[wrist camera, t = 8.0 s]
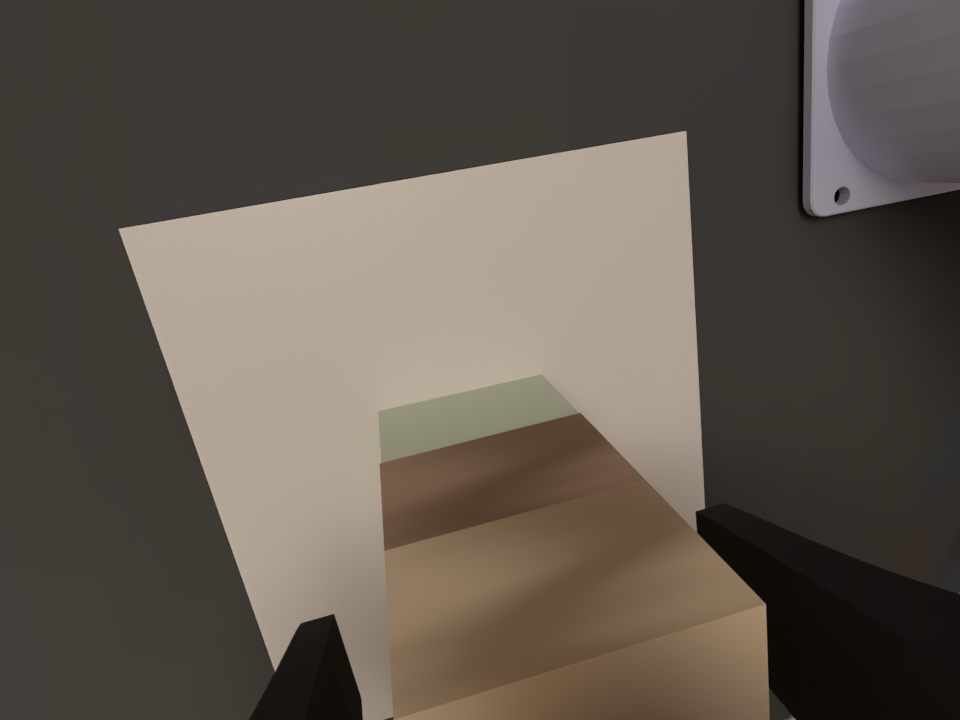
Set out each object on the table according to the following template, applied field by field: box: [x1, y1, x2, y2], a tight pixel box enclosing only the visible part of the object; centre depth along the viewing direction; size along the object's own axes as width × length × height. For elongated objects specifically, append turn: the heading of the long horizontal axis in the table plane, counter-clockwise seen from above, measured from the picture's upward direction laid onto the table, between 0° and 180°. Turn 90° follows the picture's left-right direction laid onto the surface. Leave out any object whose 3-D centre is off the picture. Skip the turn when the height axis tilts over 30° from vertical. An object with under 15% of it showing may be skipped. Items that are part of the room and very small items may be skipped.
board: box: [119, 131, 705, 720], centre depth 15 cm, size 14×16×4 cm
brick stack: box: [380, 413, 770, 720], centre depth 10 cm, size 5×5×6 cm
